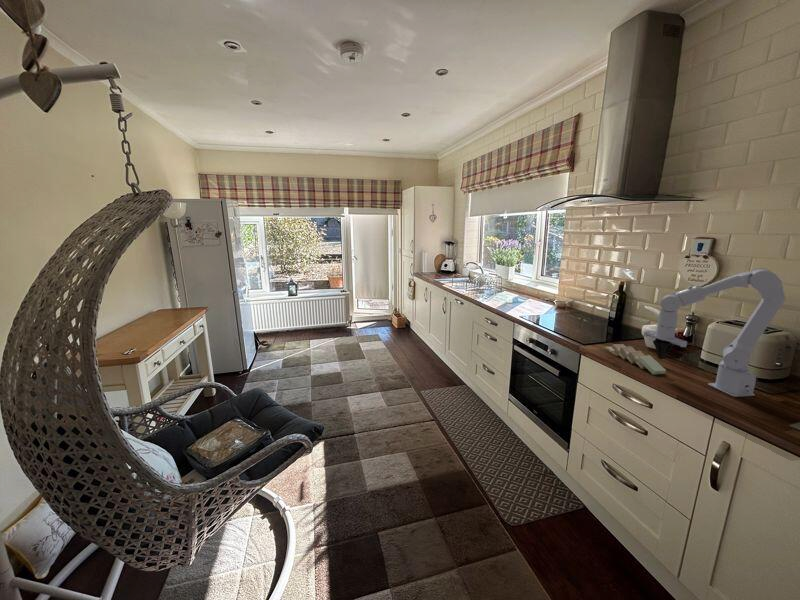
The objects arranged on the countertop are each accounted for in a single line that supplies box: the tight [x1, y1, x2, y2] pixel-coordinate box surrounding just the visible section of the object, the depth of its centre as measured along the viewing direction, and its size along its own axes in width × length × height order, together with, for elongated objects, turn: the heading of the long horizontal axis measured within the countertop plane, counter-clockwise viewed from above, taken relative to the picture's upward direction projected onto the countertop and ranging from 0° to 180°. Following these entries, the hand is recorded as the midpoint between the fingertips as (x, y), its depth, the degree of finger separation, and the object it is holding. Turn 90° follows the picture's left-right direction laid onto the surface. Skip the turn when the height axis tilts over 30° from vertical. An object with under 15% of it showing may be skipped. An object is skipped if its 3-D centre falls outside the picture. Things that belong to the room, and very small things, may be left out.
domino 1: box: [603, 345, 621, 357], centre depth 157 cm, size 2×5×9 cm
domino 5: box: [638, 354, 667, 375], centre depth 137 cm, size 2×5×9 cm
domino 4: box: [628, 350, 648, 370], centre depth 142 cm, size 2×5×9 cm
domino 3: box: [620, 345, 638, 365], centre depth 147 cm, size 2×5×9 cm
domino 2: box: [611, 343, 629, 361], centre depth 152 cm, size 2×5×9 cm
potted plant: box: [641, 305, 660, 350], centre depth 161 cm, size 13×12×25 cm
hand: (661, 358), depth 132 cm, fingers closed
